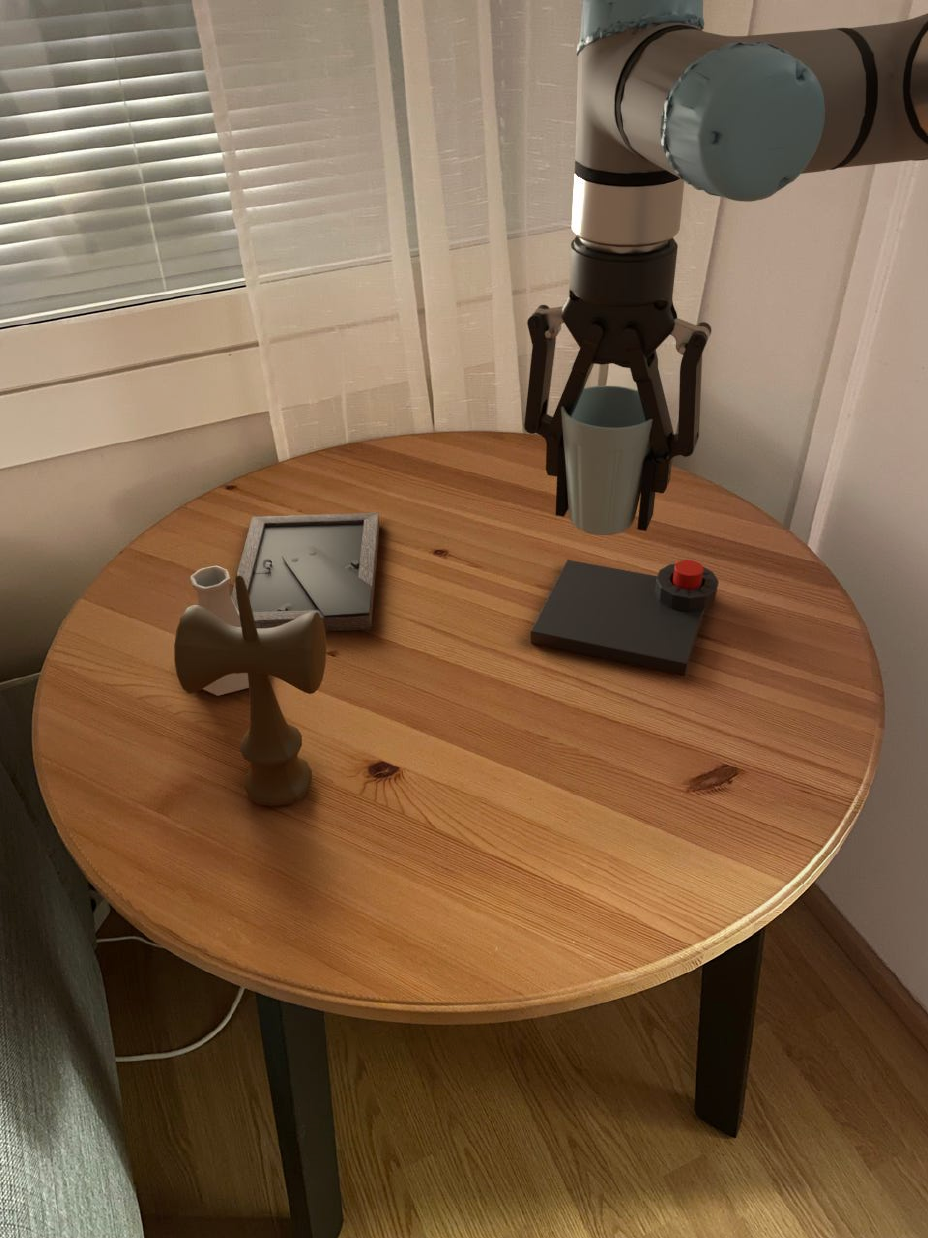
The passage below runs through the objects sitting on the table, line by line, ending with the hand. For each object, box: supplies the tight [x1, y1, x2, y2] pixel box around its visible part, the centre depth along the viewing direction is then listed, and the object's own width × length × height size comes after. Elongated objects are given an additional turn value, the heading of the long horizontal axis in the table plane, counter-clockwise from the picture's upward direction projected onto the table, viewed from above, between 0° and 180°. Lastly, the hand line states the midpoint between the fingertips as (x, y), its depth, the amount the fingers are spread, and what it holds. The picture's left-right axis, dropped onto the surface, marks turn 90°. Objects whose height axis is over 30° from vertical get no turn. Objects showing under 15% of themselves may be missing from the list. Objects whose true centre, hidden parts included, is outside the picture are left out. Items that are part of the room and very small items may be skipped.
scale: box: [530, 559, 719, 676], centre depth 92 cm, size 15×13×3 cm
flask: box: [190, 565, 249, 697], centre depth 86 cm, size 7×7×10 cm
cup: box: [561, 385, 653, 536], centre depth 82 cm, size 8×8×10 cm
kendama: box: [173, 574, 327, 807], centre depth 71 cm, size 6×10×20 cm, turn 86°
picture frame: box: [230, 512, 380, 632], centre depth 99 cm, size 13×2×18 cm
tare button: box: [673, 559, 704, 590], centre depth 92 cm, size 3×3×2 cm
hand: (604, 514), depth 85 cm, fingers closed on cup, 6 cm apart
